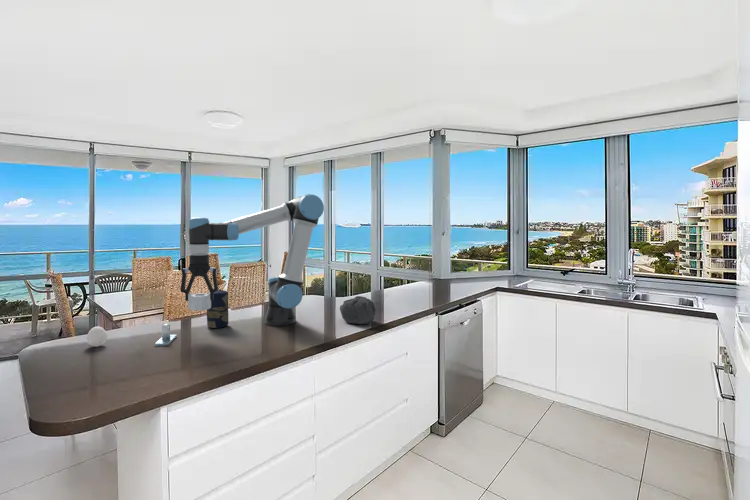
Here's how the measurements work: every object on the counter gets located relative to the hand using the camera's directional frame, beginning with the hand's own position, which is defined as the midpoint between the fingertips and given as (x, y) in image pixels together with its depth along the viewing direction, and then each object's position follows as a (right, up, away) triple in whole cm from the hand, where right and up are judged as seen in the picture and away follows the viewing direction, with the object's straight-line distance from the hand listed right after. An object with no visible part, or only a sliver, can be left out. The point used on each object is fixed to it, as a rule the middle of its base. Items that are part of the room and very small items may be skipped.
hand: (199, 308), depth 160 cm
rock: (+66, -12, +32) cm, 75 cm away
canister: (-1, -12, +19) cm, 23 cm away
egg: (-35, -13, -12) cm, 39 cm away
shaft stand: (-12, -13, -4) cm, 18 cm away
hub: (0, 0, 0) cm, 0 cm away
